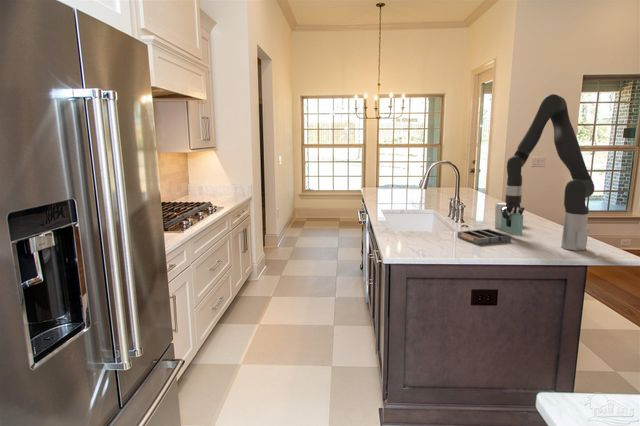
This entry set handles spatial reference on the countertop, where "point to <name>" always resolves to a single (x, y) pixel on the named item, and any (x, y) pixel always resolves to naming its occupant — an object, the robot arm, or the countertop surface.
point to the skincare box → (498, 214)
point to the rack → (484, 236)
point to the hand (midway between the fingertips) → (511, 226)
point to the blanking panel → (513, 224)
